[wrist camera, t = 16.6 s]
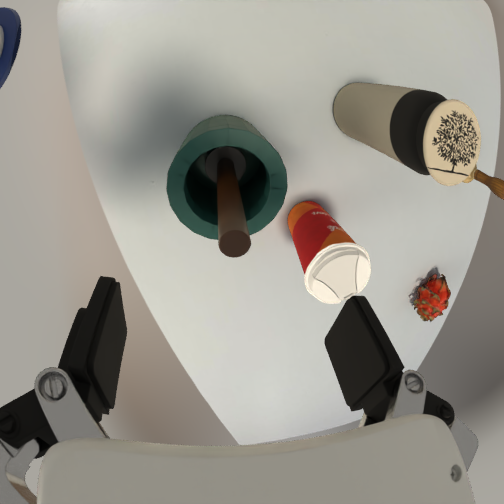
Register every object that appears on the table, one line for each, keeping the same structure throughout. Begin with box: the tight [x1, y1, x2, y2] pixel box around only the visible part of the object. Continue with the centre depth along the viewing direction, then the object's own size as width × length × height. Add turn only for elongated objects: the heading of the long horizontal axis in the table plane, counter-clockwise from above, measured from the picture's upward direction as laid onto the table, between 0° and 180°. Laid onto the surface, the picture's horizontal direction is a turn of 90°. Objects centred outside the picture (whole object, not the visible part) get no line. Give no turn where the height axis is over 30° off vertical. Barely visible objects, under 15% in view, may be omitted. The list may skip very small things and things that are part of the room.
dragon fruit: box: [413, 274, 451, 322], centre depth 49 cm, size 8×8×12 cm
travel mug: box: [333, 83, 481, 186], centre depth 23 cm, size 8×8×18 cm
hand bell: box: [462, 165, 504, 200], centre depth 29 cm, size 8×8×16 cm
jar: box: [166, 115, 287, 240], centre depth 27 cm, size 10×10×12 cm
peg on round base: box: [205, 146, 251, 257], centre depth 23 cm, size 4×4×20 cm
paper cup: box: [288, 201, 371, 304], centre depth 33 cm, size 8×8×14 cm
